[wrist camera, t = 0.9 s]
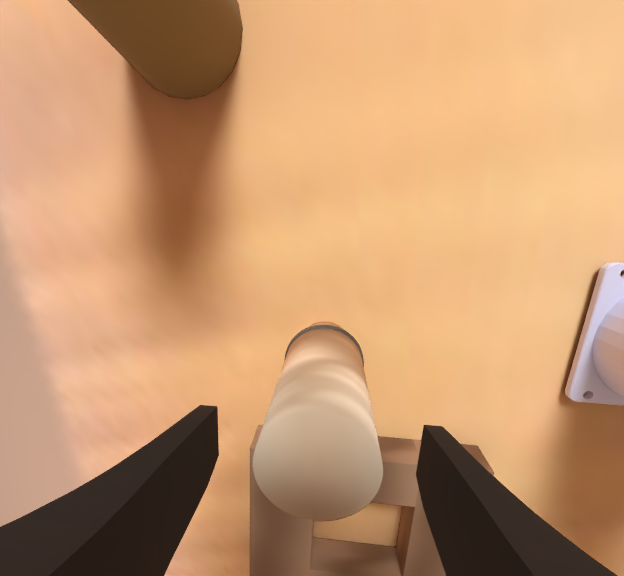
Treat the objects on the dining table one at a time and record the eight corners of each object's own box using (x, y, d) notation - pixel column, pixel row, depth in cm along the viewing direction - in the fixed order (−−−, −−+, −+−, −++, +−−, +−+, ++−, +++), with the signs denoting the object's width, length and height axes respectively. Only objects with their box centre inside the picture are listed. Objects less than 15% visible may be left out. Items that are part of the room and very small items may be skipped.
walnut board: (477, 445, 19) (494, 472, 17) (446, 584, 22) (458, 621, 20) (258, 425, 19) (250, 448, 17) (257, 562, 22) (249, 595, 20)
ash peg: (362, 315, 17) (393, 417, 8) (356, 379, 18) (378, 530, 9) (291, 310, 17) (250, 404, 9) (289, 373, 18) (249, 515, 10)
